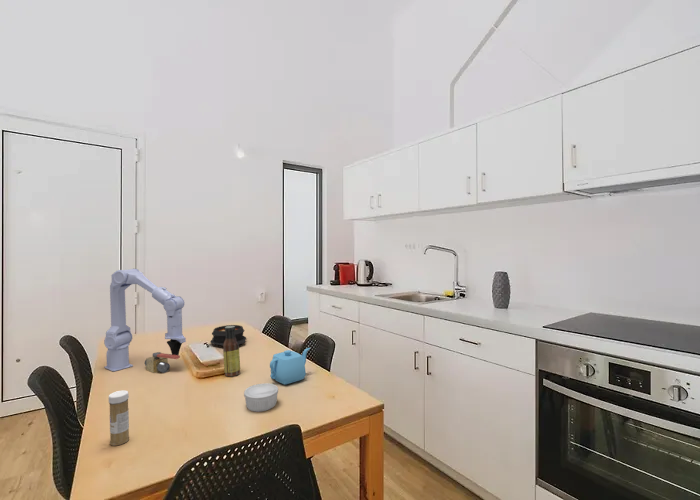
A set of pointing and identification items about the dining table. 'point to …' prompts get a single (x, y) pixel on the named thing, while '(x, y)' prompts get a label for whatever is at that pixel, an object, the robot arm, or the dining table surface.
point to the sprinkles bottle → (119, 417)
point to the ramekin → (261, 397)
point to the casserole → (220, 335)
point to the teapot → (288, 366)
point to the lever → (165, 355)
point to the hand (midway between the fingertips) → (175, 356)
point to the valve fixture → (157, 364)
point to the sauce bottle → (231, 353)
